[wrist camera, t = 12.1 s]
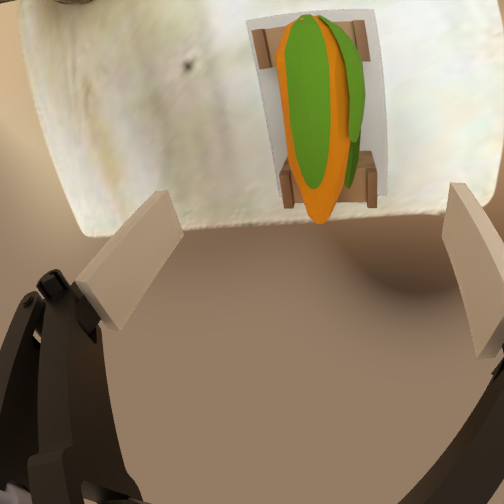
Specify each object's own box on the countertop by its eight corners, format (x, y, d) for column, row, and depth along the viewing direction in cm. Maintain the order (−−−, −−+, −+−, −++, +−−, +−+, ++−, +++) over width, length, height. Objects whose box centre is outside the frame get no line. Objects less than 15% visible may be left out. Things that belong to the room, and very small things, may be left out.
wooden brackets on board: (293, 180, 38) (284, 208, 32) (267, 33, 26) (250, 30, 21) (371, 178, 34) (376, 208, 29) (358, 26, 23) (364, 20, 18)
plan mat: (280, 194, 39) (279, 196, 39) (247, 21, 26) (245, 20, 25) (386, 193, 35) (386, 195, 35) (373, 10, 21) (373, 9, 21)
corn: (361, 8, 13) (358, 253, 25) (360, 19, 19) (361, 209, 31) (251, 13, 16) (278, 244, 28) (278, 21, 21) (295, 203, 33)
